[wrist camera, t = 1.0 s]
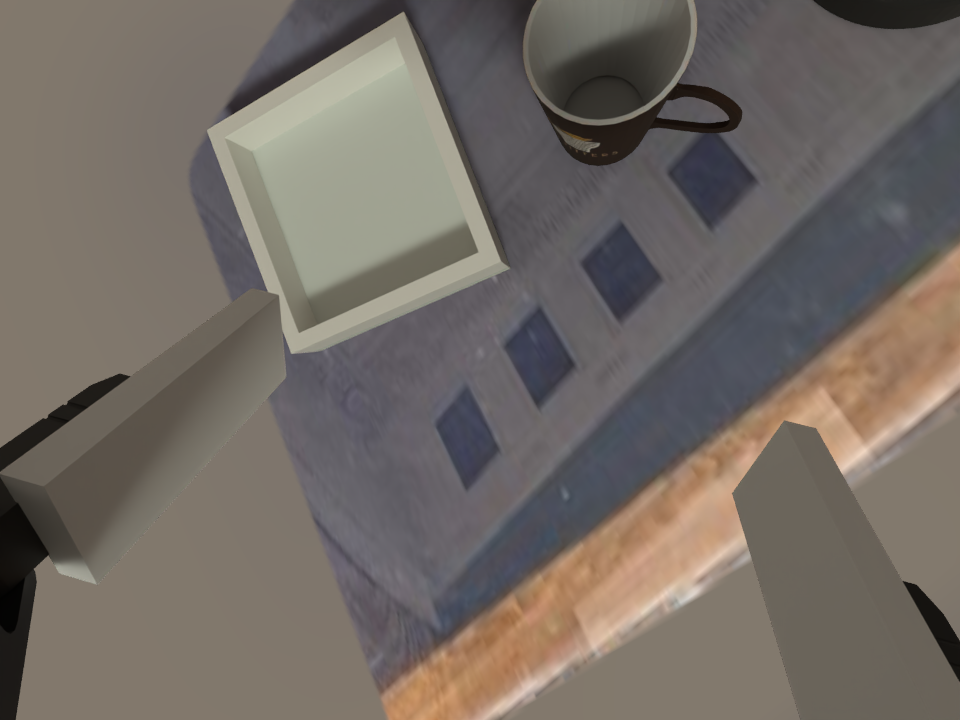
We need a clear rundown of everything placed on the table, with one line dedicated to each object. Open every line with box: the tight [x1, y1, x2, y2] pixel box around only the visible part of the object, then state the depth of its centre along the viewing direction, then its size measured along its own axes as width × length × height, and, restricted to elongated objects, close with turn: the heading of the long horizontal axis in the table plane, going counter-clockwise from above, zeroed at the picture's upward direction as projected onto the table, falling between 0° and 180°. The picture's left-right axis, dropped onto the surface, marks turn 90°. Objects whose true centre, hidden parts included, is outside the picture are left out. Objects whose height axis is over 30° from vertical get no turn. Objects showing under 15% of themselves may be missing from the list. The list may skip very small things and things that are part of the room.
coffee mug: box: [523, 0, 742, 166], centre depth 29 cm, size 12×9×10 cm
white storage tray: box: [207, 12, 511, 354], centre depth 37 cm, size 17×18×4 cm
